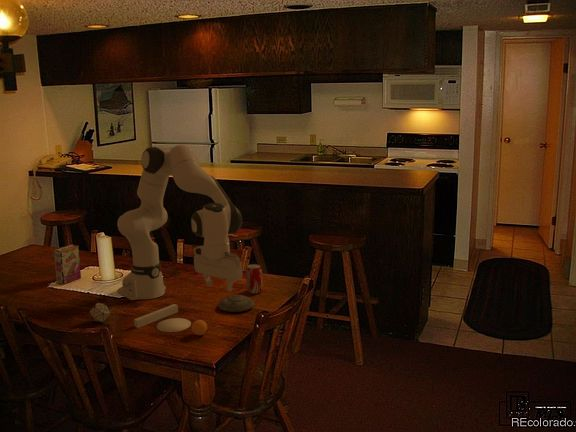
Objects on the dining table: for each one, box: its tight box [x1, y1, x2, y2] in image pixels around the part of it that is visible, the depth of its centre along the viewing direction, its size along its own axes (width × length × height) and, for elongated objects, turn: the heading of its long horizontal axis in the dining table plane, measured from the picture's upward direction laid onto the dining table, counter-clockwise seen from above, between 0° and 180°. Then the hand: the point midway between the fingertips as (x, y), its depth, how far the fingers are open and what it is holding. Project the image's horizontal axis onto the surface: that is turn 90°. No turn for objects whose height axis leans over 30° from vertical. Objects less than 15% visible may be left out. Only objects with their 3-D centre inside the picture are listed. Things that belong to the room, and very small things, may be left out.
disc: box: [156, 317, 192, 333], centre depth 226 cm, size 13×13×1 cm
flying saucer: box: [217, 294, 256, 313], centre depth 242 cm, size 15×15×6 cm
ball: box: [191, 319, 208, 336], centre depth 216 cm, size 6×6×6 cm
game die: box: [87, 300, 114, 325], centre depth 229 cm, size 9×8×10 cm
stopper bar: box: [133, 303, 179, 329], centre depth 231 cm, size 2×20×3 cm, turn 141°
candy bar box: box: [53, 244, 82, 286], centre depth 277 cm, size 11×5×16 cm, turn 154°
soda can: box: [245, 263, 263, 295], centre depth 259 cm, size 7×7×12 cm
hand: (219, 288), depth 207 cm, fingers open, 8 cm apart
